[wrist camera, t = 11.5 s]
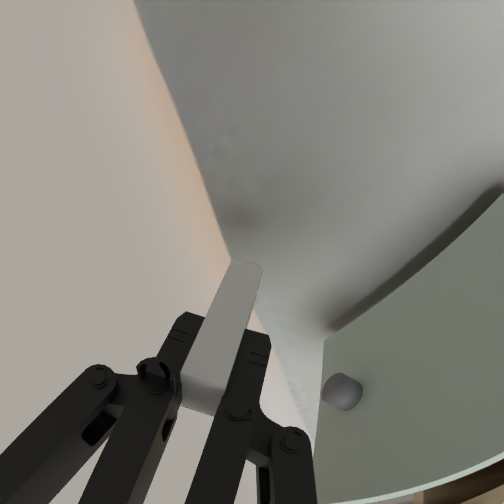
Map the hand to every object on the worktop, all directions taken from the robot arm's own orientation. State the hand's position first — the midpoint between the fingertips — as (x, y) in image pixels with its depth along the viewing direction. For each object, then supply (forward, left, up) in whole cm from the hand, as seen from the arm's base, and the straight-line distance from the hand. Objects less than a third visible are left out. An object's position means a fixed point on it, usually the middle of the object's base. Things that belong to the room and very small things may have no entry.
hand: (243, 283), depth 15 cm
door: (-1, +11, -5) cm, 12 cm away
